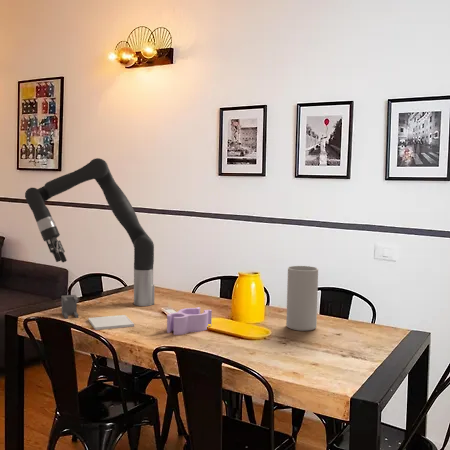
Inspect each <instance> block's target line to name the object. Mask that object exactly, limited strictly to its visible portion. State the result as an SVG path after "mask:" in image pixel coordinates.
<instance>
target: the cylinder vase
mask: <svg viewBox="0 0 450 450" xmlns="http://www.w3.org/2000/svg"><path fill="white" fill-rule="evenodd" d="M318 284H319V268H317V267H316V266H310V265H309V266H307V265H291V266H288V267H287V285H286V286H287V291H286V292H287V294H286V323H285V324H286V327H287V328H288V329H290V330H293V331H294V330H295V331H299V332H300V331H301V332H302V331H303V332H308V331H313V330H315V329H316V328H317V322H318V321H317V320H318V319H317V318H318V317H317V316H318V289H319V288H318V287H319V286H318Z"/></svg>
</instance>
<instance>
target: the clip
mask: <svg viewBox="0 0 450 450" xmlns="http://www.w3.org/2000/svg"><path fill="white" fill-rule="evenodd" d="M212 311H213V310H212V309H203V312H202V313H201V307H199V306H197V307H187V308H186V307H185V308H181V309H179V310H178V311H177V312H171V313H168V314H167V315H166V333H167V334H170V333H171V332H172V331H173V335H174V336H179V335H185V334H188V333H193V332H194V333H195V332H203V331H206V330H208V329H207V326H208V324H211V325H212V319H213V317H212ZM208 327H209V326H208Z"/></svg>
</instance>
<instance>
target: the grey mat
mask: <svg viewBox="0 0 450 450" xmlns="http://www.w3.org/2000/svg"><path fill="white" fill-rule="evenodd" d="M87 319H88V322H89V323H90V325H91V326H92V327H93V329H94V330H95V331H99V330H100V331H101V330H110V329H119V328H130V327H132V328H133V327H135V323H134V322H133V321H132V320H131V319H130V318H129V317H128V316H127V315H126V314H121V315H120V314H119V315H109V316H108V315H107V316H96V317H88V318H87Z"/></svg>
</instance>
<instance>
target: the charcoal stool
mask: <svg viewBox="0 0 450 450" xmlns="http://www.w3.org/2000/svg"><path fill="white" fill-rule="evenodd" d="M78 303H79V298H78V297H77V295H76V294H68V295H67V294H66V295H61V315H62V316H63V318H64V319H69V316H71V315H72V316H74V318H76V319H77V318H79V314H78V308H77V306H78V305H77V304H78Z"/></svg>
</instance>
